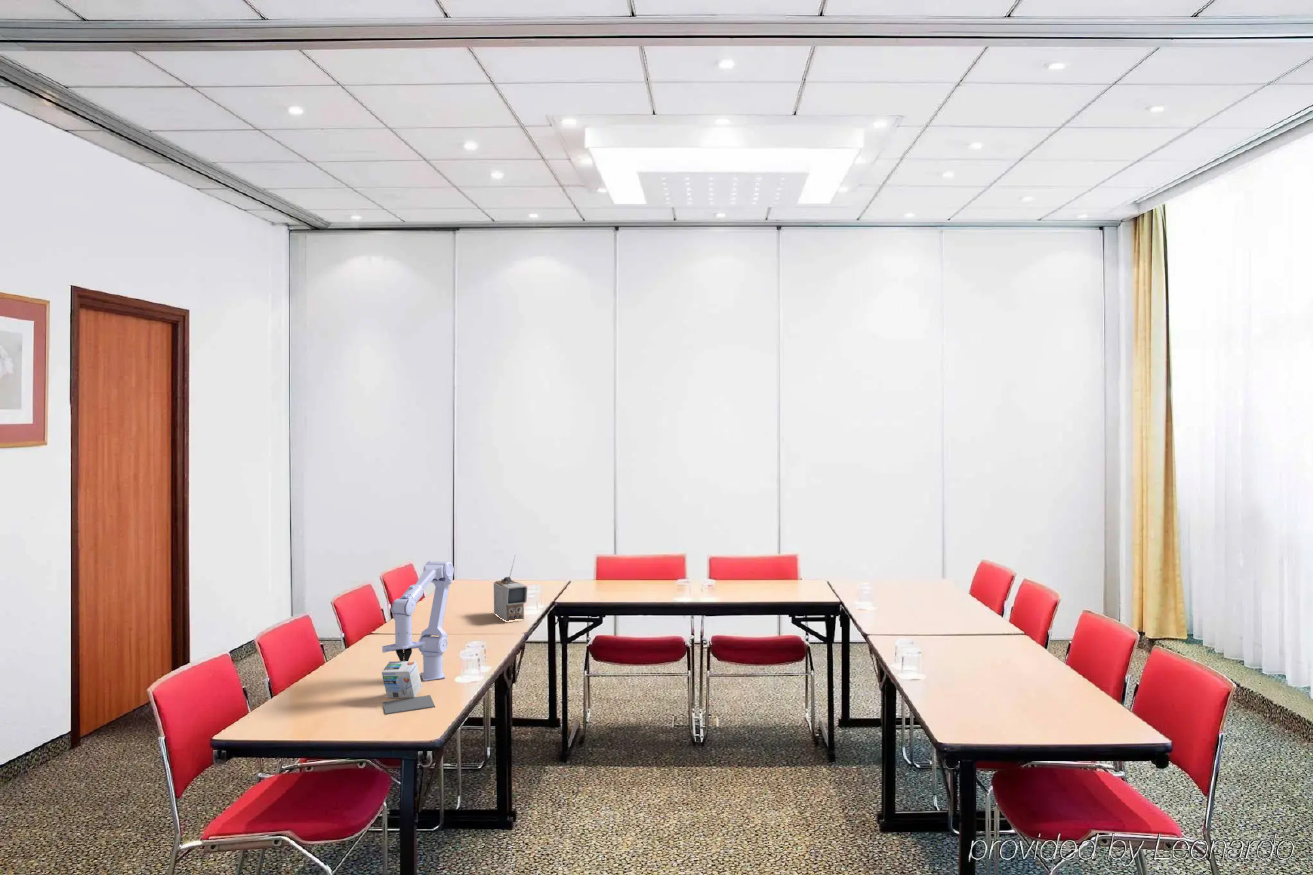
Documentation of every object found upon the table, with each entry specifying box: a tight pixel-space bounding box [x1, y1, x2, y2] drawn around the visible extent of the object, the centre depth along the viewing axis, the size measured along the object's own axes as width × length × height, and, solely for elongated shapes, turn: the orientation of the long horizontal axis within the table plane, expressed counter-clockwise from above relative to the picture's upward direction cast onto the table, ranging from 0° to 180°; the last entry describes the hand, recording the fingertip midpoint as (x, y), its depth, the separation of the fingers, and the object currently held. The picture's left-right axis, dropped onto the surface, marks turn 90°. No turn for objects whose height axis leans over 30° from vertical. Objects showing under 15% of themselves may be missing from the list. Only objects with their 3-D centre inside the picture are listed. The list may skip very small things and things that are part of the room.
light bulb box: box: [381, 660, 423, 699], centre depth 274 cm, size 11×7×11 cm, turn 82°
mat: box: [382, 694, 436, 715], centre depth 266 cm, size 12×16×1 cm
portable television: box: [493, 554, 528, 621], centre depth 387 cm, size 12×24×30 cm, turn 29°
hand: (403, 669), depth 278 cm, fingers closed
